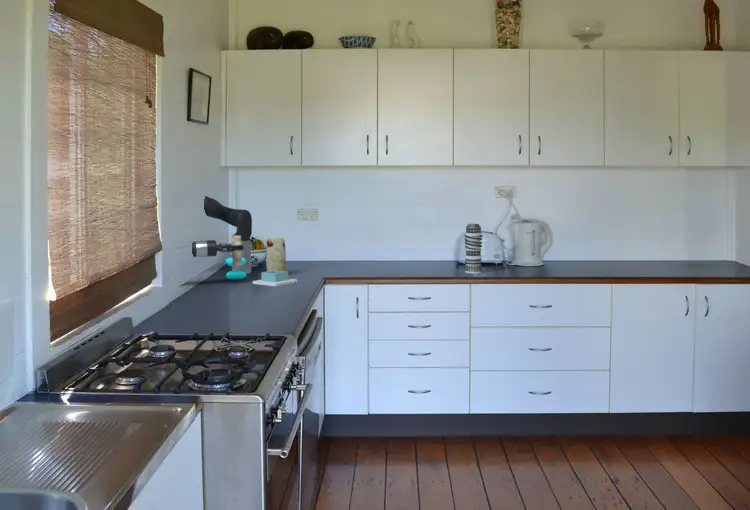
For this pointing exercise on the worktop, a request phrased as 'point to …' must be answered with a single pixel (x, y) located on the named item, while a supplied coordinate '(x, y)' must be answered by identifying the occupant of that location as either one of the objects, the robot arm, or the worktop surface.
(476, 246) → the decorative candle
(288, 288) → the worktop surface
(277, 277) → the socket block
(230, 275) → the donuts
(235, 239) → the birch peg
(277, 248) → the food model
